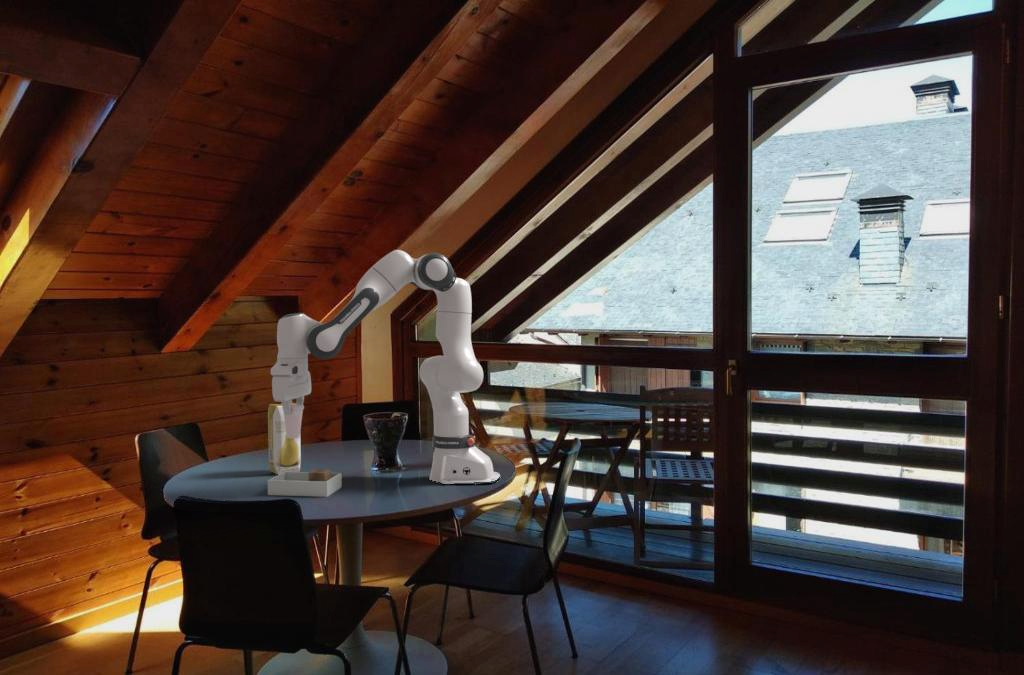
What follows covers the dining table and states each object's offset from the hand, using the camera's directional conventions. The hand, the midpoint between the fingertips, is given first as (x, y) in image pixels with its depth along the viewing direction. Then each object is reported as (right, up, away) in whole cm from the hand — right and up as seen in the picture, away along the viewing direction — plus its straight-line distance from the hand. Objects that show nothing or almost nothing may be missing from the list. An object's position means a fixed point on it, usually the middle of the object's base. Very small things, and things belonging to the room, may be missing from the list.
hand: (293, 413), depth 246 cm
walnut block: (+9, -23, -4) cm, 25 cm away
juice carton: (-10, -22, +25) cm, 35 cm away
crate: (+5, -23, -4) cm, 24 cm away
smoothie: (0, -8, 0) cm, 8 cm away
